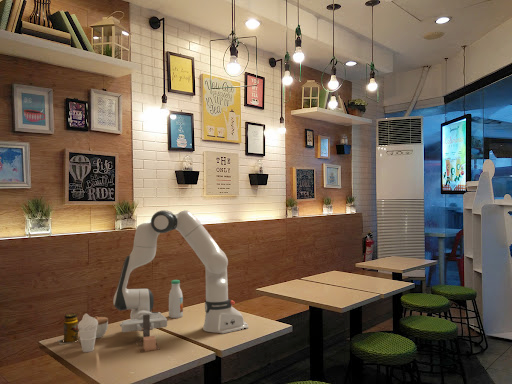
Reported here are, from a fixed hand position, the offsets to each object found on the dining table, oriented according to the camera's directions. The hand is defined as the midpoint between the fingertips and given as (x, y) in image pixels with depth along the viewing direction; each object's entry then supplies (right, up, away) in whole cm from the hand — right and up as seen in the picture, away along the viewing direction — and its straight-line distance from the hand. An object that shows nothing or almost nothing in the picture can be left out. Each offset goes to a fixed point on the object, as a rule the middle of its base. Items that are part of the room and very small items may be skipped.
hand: (146, 328), depth 186 cm
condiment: (-38, -9, +9) cm, 40 cm away
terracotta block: (+3, -6, -8) cm, 10 cm away
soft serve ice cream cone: (-24, -8, -5) cm, 26 cm away
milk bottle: (+4, -9, +48) cm, 49 cm away
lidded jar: (-28, -9, +15) cm, 33 cm away
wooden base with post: (+1, -7, -3) cm, 8 cm away
